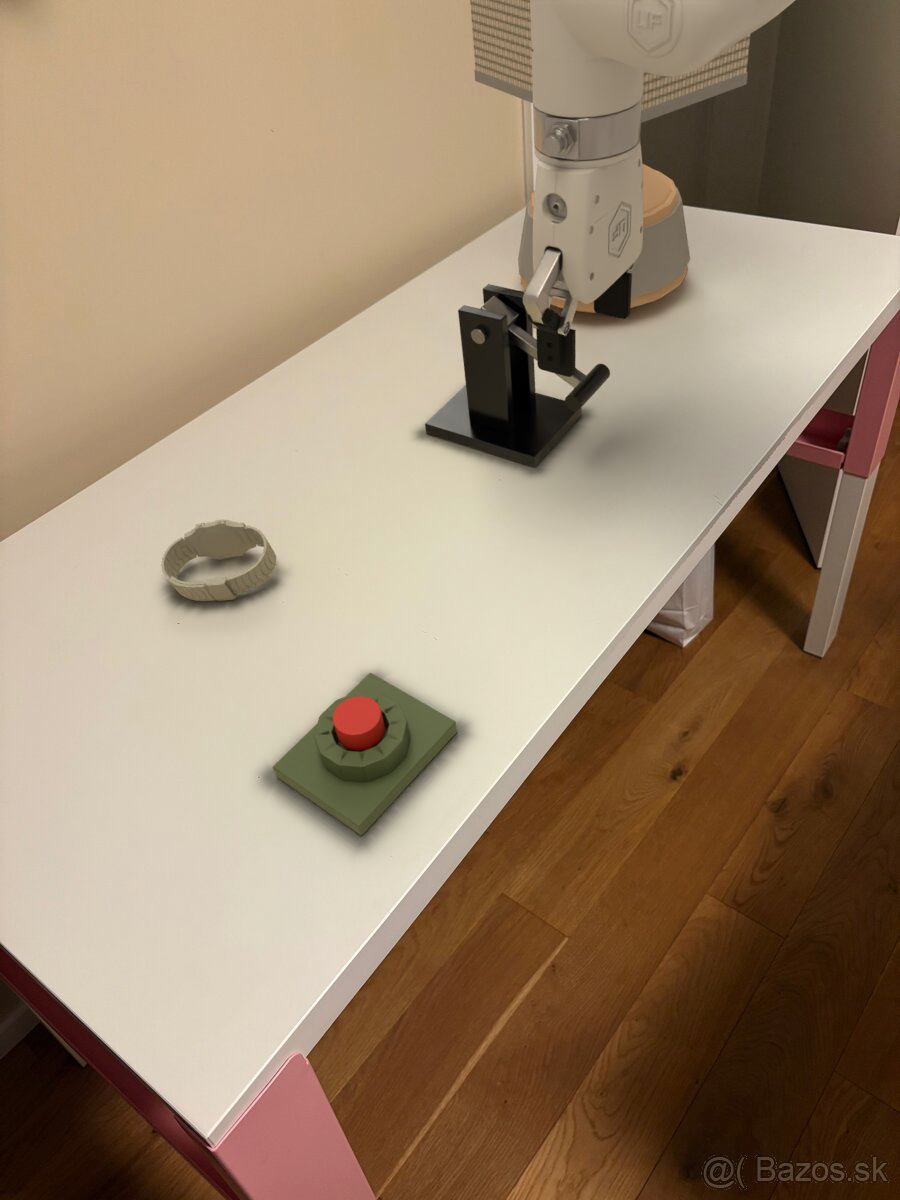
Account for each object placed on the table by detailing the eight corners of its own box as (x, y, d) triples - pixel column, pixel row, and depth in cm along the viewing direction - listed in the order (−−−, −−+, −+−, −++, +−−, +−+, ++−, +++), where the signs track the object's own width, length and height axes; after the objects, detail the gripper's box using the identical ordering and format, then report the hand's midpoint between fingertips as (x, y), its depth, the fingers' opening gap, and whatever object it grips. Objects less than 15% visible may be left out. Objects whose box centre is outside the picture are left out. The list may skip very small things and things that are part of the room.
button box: (372, 682, 70) (366, 655, 68) (457, 731, 66) (453, 705, 64) (275, 776, 65) (265, 751, 63) (361, 836, 61) (353, 811, 59)
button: (359, 704, 65) (355, 688, 64) (394, 726, 63) (390, 709, 62) (327, 736, 63) (322, 720, 62) (362, 758, 62) (358, 742, 60)
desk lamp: (479, 280, 112) (447, -101, 86) (606, 228, 118) (612, -142, 92) (596, 353, 98) (599, -74, 72) (733, 290, 104) (782, -124, 78)
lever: (604, 385, 84) (615, 367, 82) (574, 418, 81) (585, 399, 79) (495, 306, 86) (503, 286, 84) (462, 335, 83) (470, 315, 81)
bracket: (581, 415, 91) (581, 290, 81) (534, 467, 86) (528, 341, 77) (476, 386, 96) (464, 266, 87) (426, 434, 91) (408, 312, 82)
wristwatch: (282, 548, 81) (268, 503, 78) (276, 600, 77) (261, 555, 73) (177, 560, 82) (159, 515, 78) (165, 612, 77) (145, 568, 74)
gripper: (575, 182, 61) (575, 407, 73) (687, 90, 70) (670, 303, 82) (476, 166, 64) (492, 384, 76) (596, 80, 73) (593, 286, 86)
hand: (584, 342), depth 79 cm, fingers open, 9 cm apart
